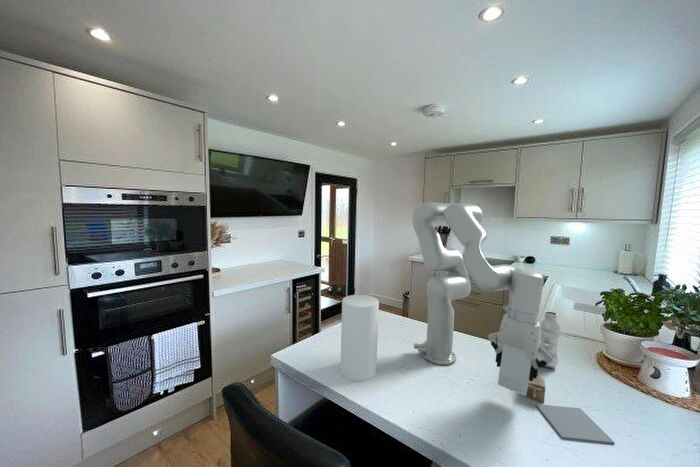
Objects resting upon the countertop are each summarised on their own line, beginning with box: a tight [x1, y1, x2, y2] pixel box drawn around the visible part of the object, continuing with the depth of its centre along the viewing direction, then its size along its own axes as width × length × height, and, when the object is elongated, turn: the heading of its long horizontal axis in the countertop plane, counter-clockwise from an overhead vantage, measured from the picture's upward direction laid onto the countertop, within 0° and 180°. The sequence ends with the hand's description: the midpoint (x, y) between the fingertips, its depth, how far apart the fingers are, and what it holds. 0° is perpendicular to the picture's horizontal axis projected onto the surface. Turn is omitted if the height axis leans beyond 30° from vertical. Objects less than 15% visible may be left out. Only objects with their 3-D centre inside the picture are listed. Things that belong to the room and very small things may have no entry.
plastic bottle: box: [538, 310, 561, 369], centre depth 104 cm, size 6×7×20 cm
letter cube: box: [523, 376, 546, 403], centre depth 87 cm, size 5×5×5 cm
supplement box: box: [497, 344, 532, 396], centre depth 82 cm, size 7×7×13 cm
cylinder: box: [339, 294, 380, 382], centre depth 97 cm, size 12×12×25 cm
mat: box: [535, 403, 615, 445], centre depth 76 cm, size 12×12×1 cm
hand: (515, 371), depth 82 cm, fingers closed on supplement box, 8 cm apart
